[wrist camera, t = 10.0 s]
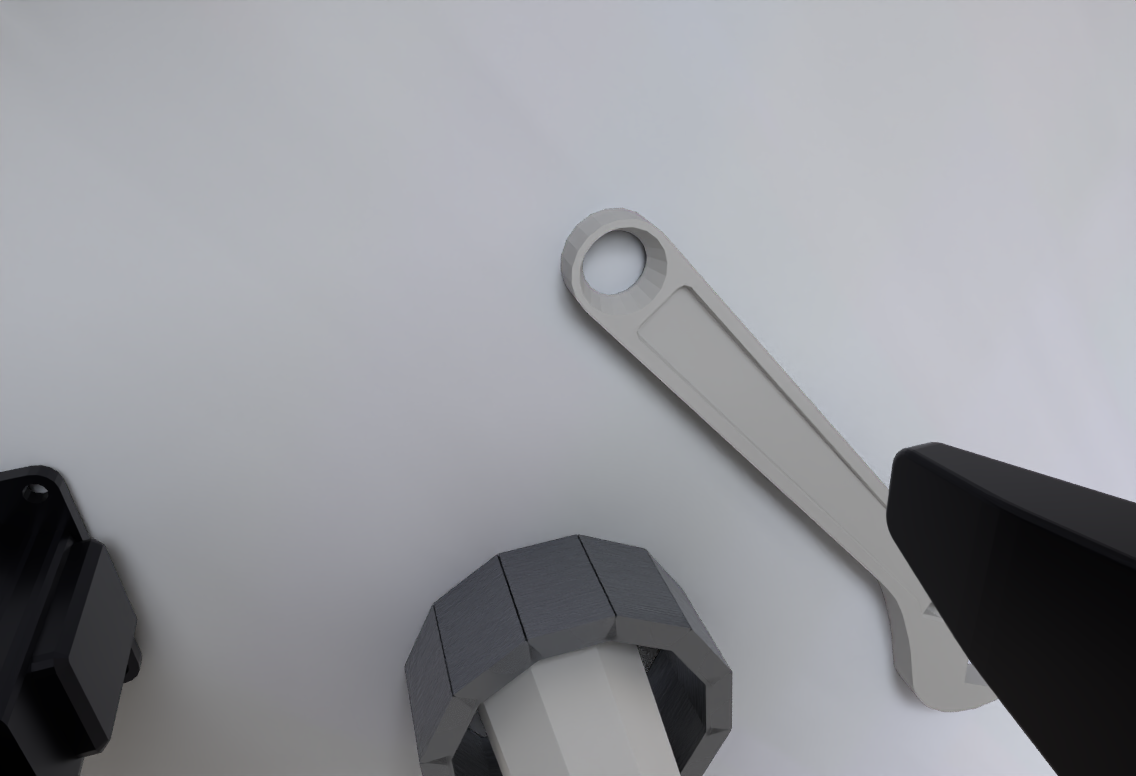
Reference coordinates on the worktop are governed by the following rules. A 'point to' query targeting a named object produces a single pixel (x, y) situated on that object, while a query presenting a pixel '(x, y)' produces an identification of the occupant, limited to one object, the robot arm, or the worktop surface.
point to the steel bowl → (562, 647)
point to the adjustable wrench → (771, 435)
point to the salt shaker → (580, 717)
